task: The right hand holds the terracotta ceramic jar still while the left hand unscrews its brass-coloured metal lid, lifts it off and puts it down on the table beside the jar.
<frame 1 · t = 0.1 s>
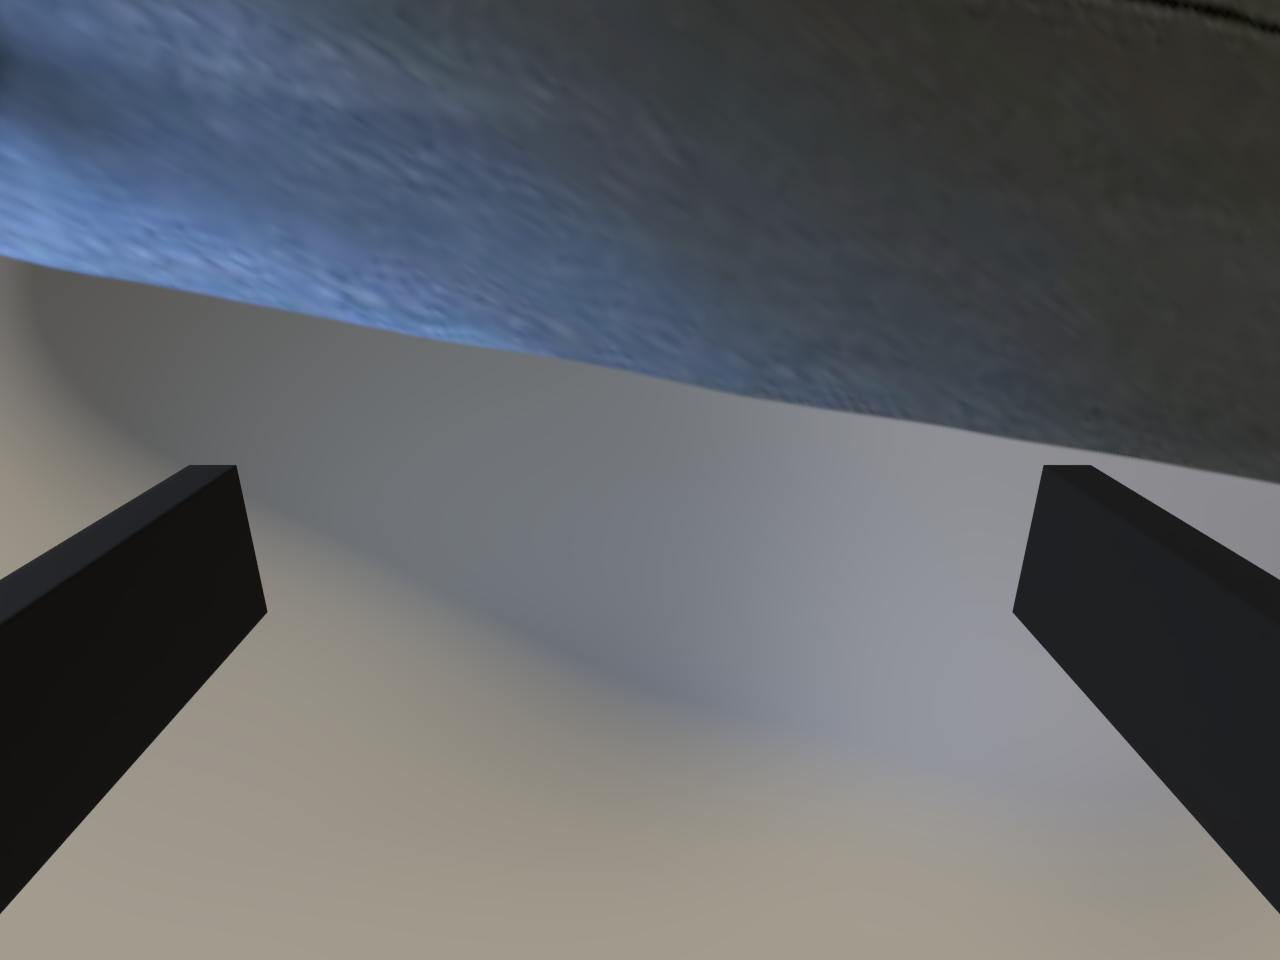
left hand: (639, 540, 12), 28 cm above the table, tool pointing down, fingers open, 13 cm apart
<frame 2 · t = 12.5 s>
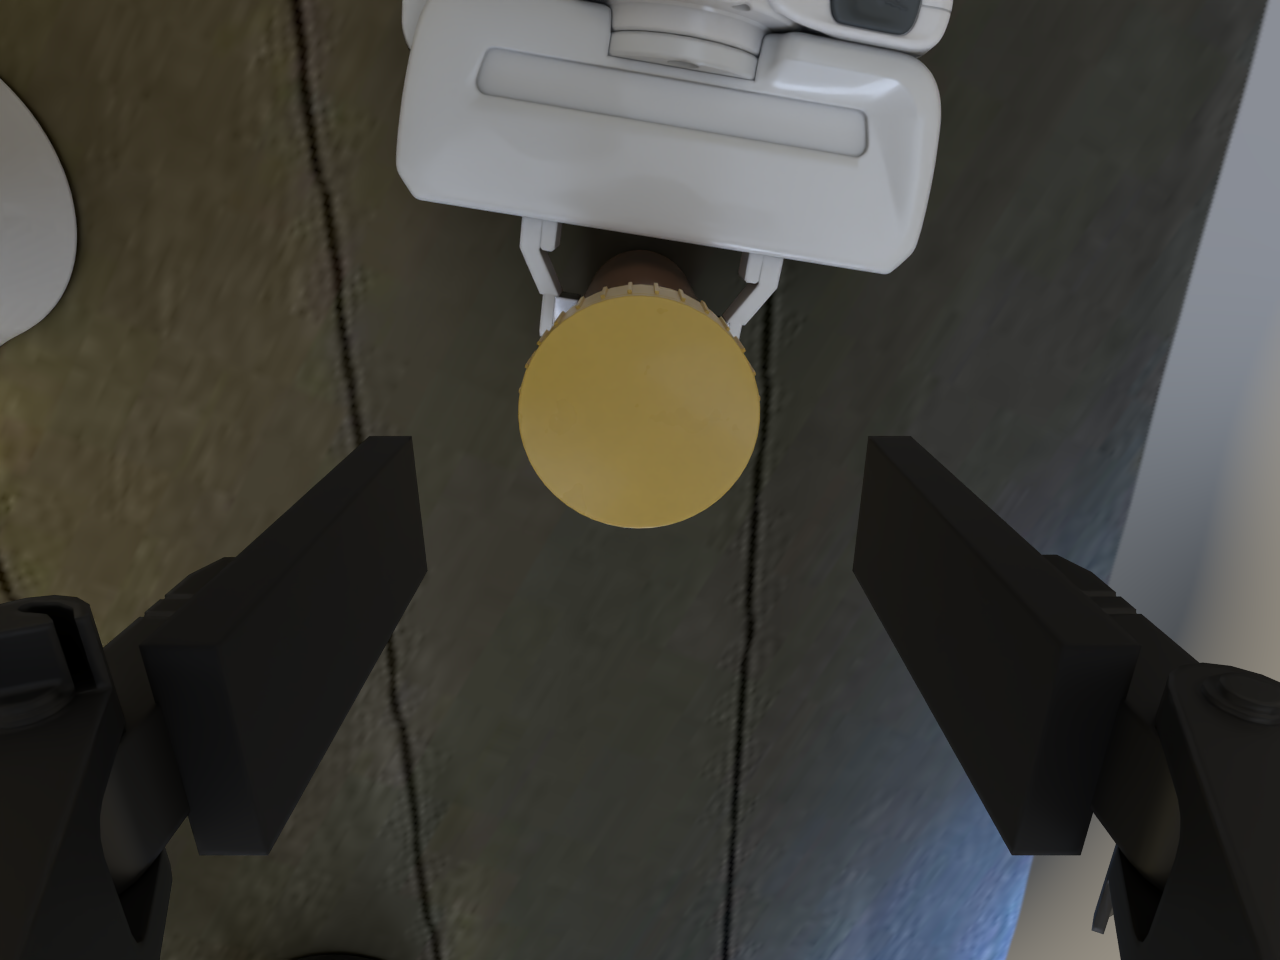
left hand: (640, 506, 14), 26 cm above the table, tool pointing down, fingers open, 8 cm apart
right hand: (637, 349, 32), fingers closed on jar, 5 cm apart
lid: (639, 415, 19), point 20 cm above the table, screwed on, not yet turned
jar: (639, 305, 38), on the table, touching right hand
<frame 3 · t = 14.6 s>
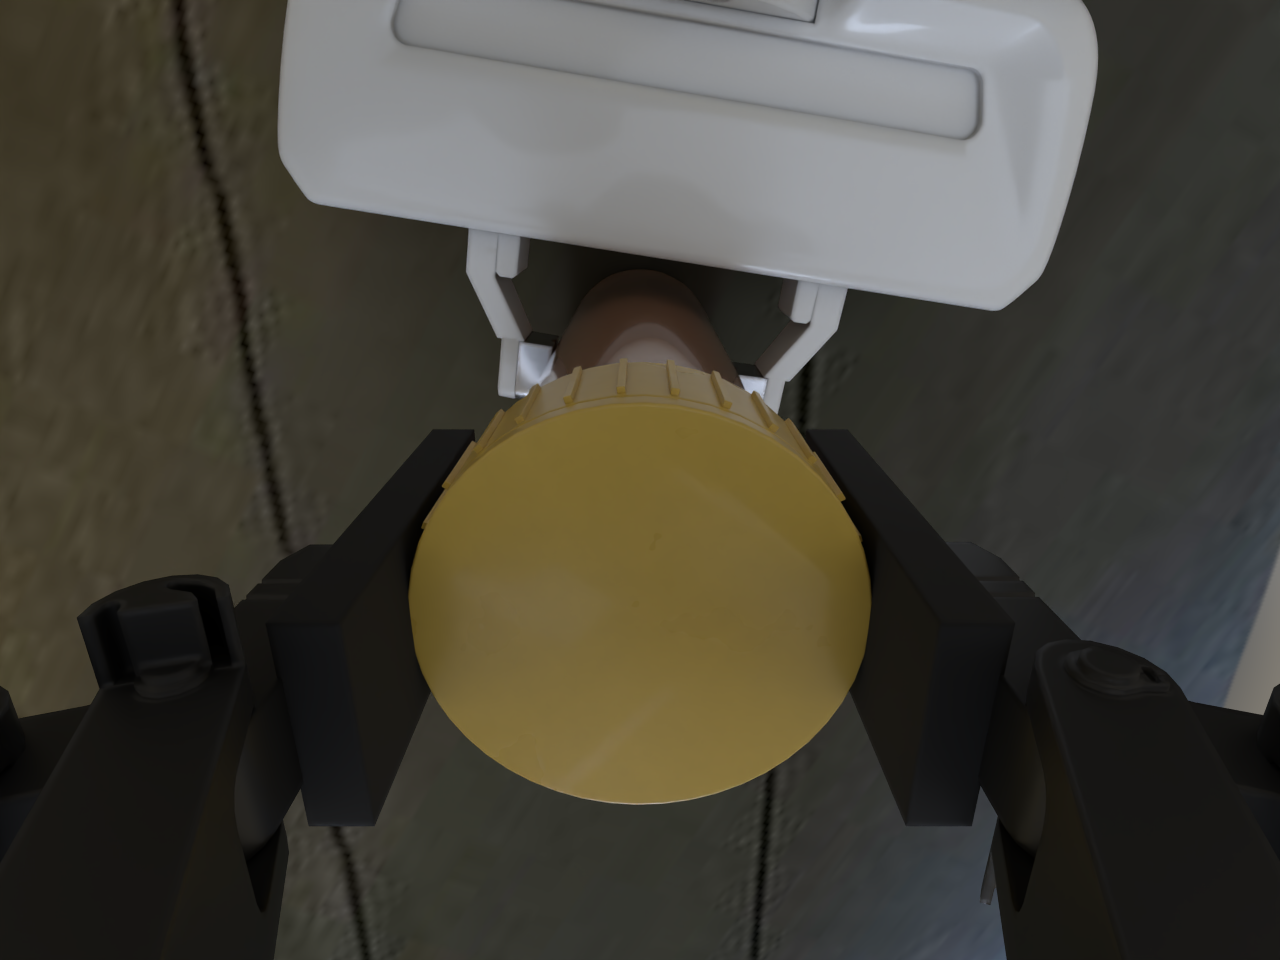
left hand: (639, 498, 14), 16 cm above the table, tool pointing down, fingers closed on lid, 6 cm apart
right hand: (637, 411, 23), fingers closed on jar, 5 cm apart
lid: (639, 613, 10), point 20 cm above the table, screwed on, not yet turned, touching left hand
jar: (640, 341, 29), on the table, touching right hand
when the left hand's fingers open (16 cm above the table, at t = 16.0 s): lid stays where it is, point 20 cm above the table.
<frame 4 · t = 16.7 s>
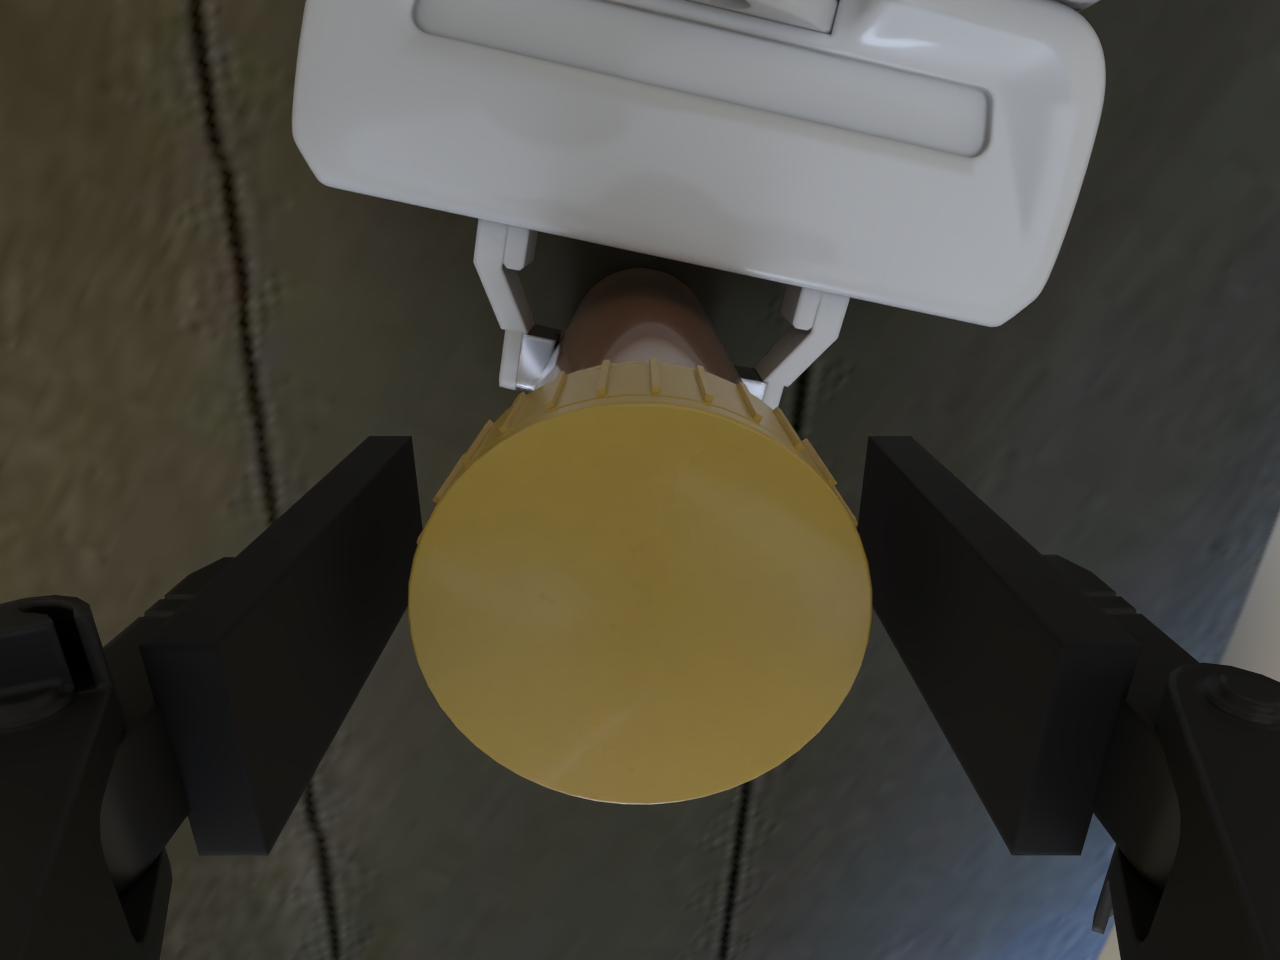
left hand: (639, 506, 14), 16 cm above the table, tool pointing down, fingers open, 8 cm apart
right hand: (636, 409, 23), fingers closed on jar, 5 cm apart
lid: (640, 613, 10), point 20 cm above the table, turned 82° so far, risen 0.2 cm, still on its thread
jar: (640, 339, 29), on the table, touching right hand
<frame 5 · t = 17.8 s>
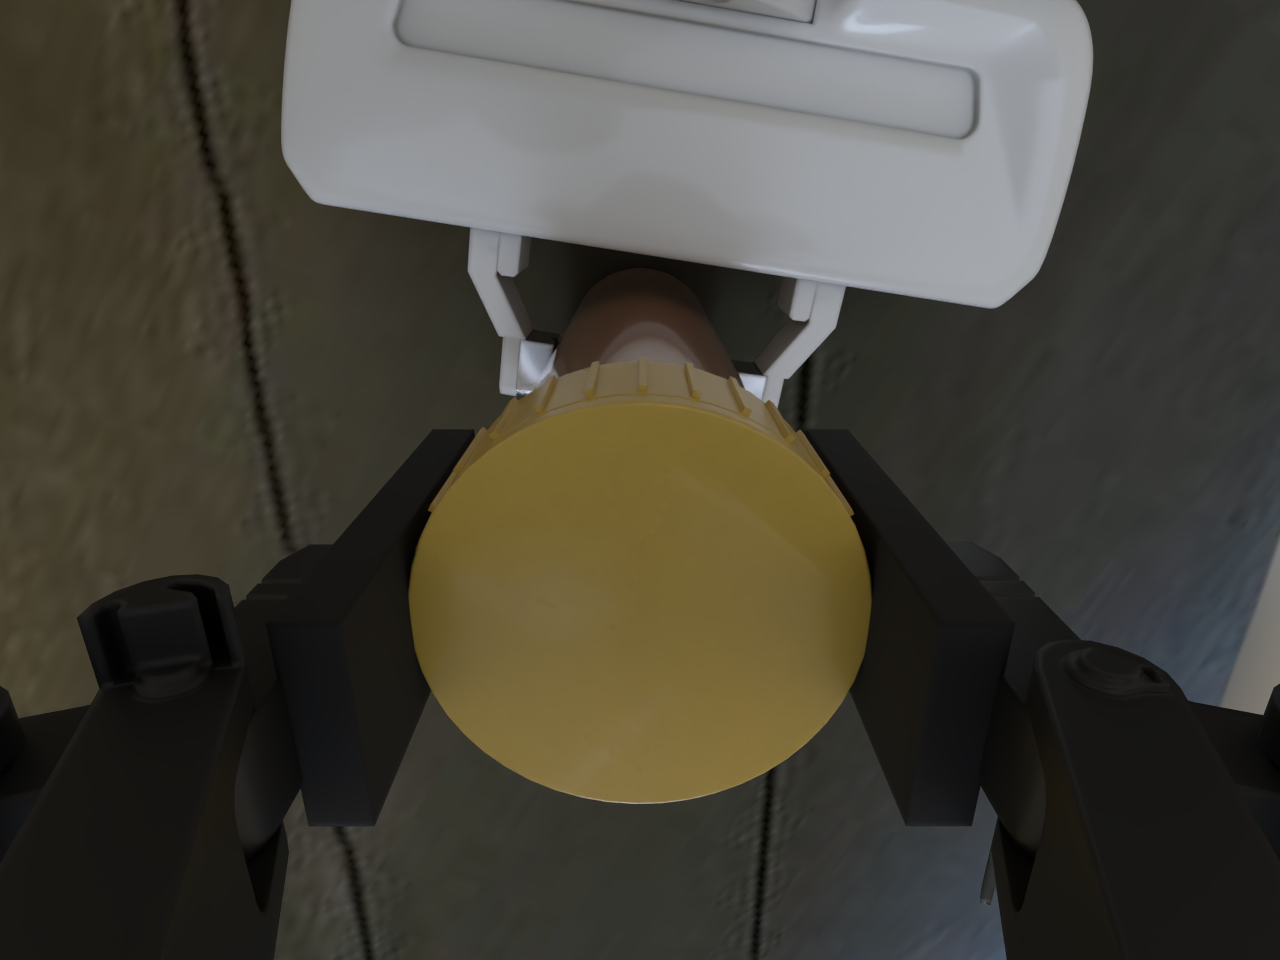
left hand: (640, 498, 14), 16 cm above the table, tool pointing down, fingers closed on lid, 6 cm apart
right hand: (637, 409, 23), fingers closed on jar, 5 cm apart
lid: (640, 612, 10), point 20 cm above the table, turned 82° so far, risen 0.2 cm, still on its thread, touching left hand
jar: (640, 339, 29), on the table, touching right hand
when the left hand's fingers open (0 cm above the table, at t = 26.2 s): lid drops 2 cm, point 2 cm above the table.
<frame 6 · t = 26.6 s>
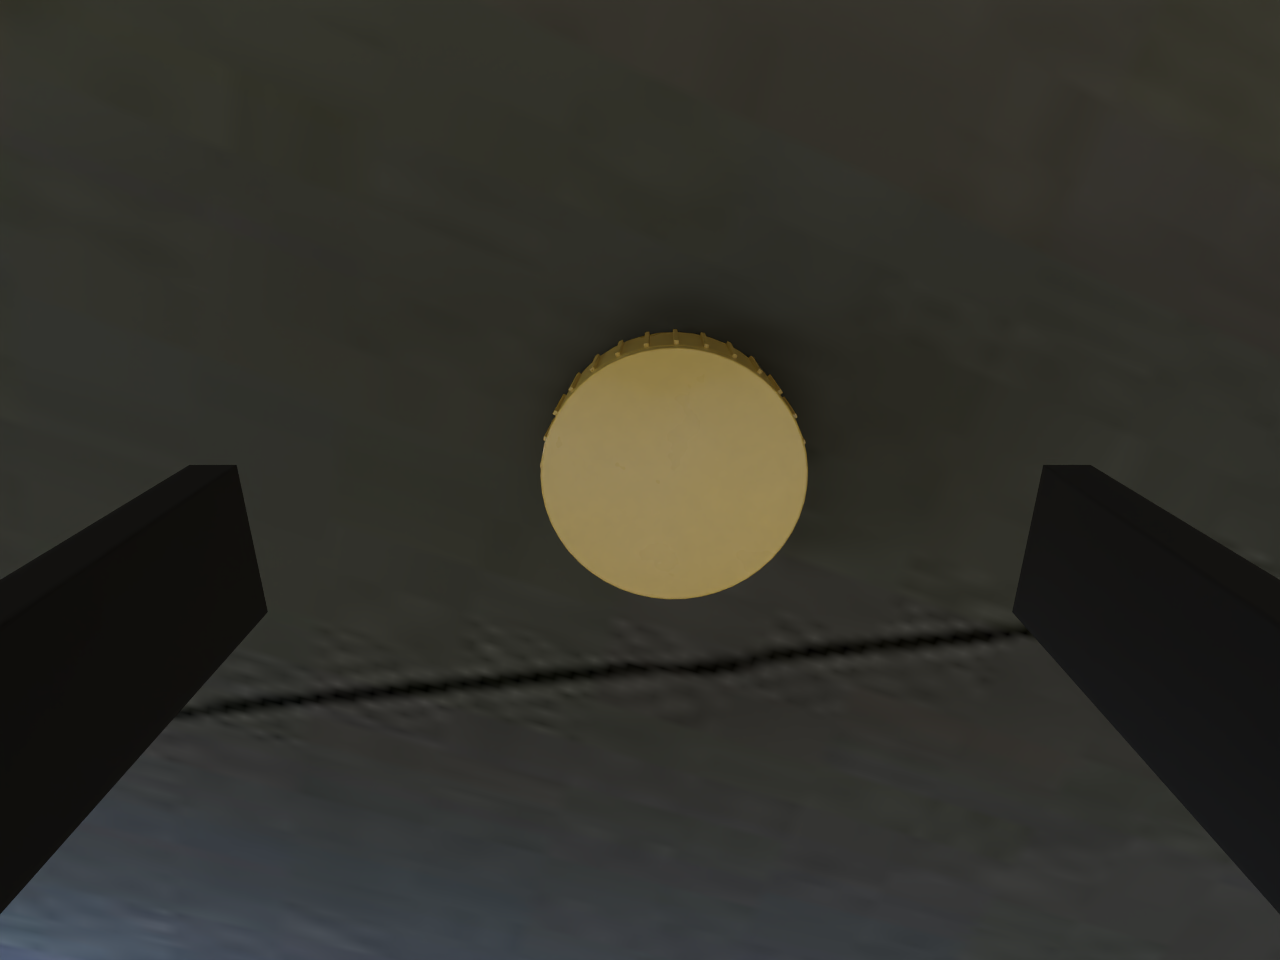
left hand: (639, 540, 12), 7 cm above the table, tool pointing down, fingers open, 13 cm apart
lid: (673, 476, 17), point 2 cm above the table, off its thread
when the right hand's fingers open (7 cm above the table, at t = 26.9 s): jar stays where it is, on the table.
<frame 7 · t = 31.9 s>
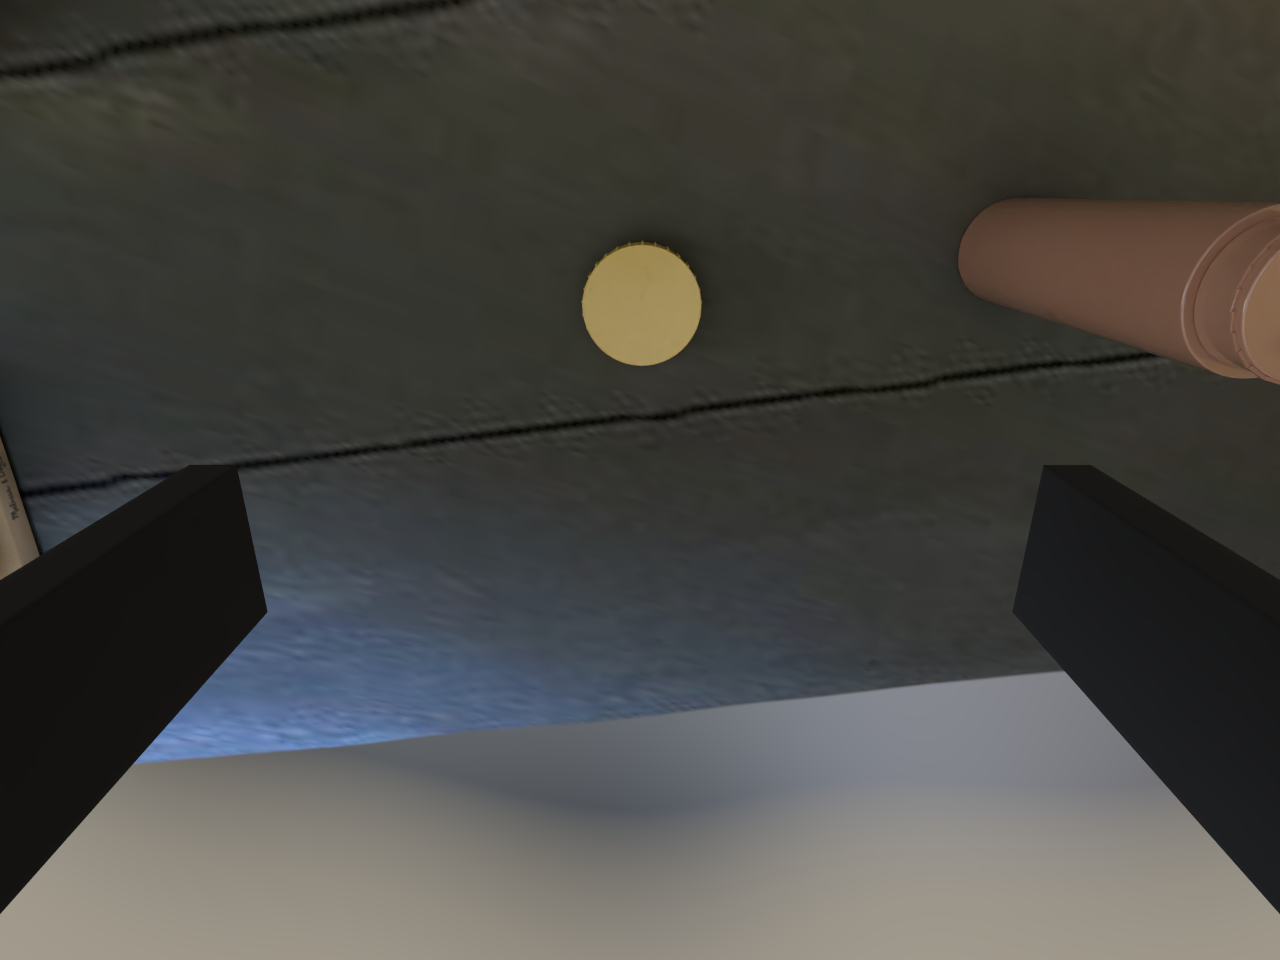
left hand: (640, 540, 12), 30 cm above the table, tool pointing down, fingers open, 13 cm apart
lid: (641, 306, 39), point 2 cm above the table, off its thread
jar: (1008, 251, 39), on the table
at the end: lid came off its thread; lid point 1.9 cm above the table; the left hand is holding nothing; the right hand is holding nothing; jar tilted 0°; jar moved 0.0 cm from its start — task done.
